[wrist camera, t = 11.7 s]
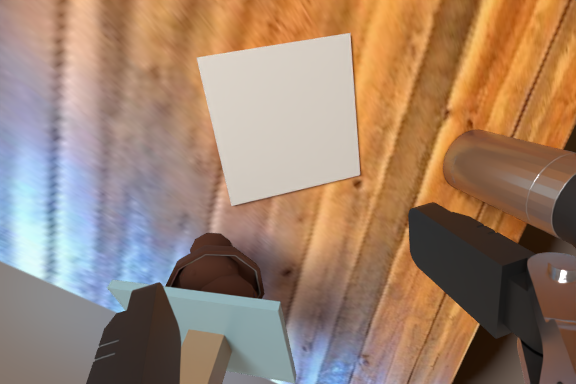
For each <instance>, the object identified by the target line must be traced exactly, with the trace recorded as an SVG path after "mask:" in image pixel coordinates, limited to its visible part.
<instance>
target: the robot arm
mask: <svg viewBox="0 0 576 384" xmlns="http://www.w3.org/2000/svg"><path fill="white" fill-rule="evenodd" d="M443 172H444V176H445V179H446V180H447V182H448V183H449V184H450V185H451V186H453V187H455V188H457V189H459V190H461V191H463V192H465V193H467V194H469V195H471V196H473V197H475V198H477V199H479V200H481V201H483V202H485V203H487V204H489V205H491V206H493V207H495V208H497V209H500V210H502V211H504V212H506V213H508V214H510V215H512V216H514V217H516V218H518V219H520V220H522V221H524V222H526V223H528V224H531V225H533V226H535V227H537V228H539V229H541V230H543V231H545V232H547V233H549V234H551V235H553V236H556V237H557V238H560V239H562V240H564V241H566V242H568V243H570V244H572V245H573V246H574V247H575V248H576V153H574V152H570V151H566V150H561V149H557V148H553V147H549V146H545V145H541V144H536V143H532V142H528V141H524V140H520V139H516V138H512V137H507V136H504V135H499V134H495V133H491V132H487V131H483V130H472V131H468V132H466V133H464V134H462V135H461V136H459V137H458V138H457V139H456V140H455V141H454V142H453V143H452V145H451V146H450V147H449V149H448V151H447V153H446V155H445V159H444V164H443ZM409 241H410V253H411V256H412V259H413V261H414V262H415V264H416V265H417V267H418V268H419V269H421V270H422V271H423V272H424V273H425V274H426V275H427V276H428V277H429V278H430V279H431V280H433V281H434V282H435V283H436V284H437V285H438V286H439V287H440V288H441V289H442V290H443V291H444V292H446V293H447V294H448V295H449V296H450V297H451V298H452V299H453V300H454V301H455V302H456V303H458V304H459V305H460V306H461V307H462V308H463V309H464V310H465V311H466V312H467V313H468V314H470V315H471V316H472V317H473V318H474V319H475V320H476V321H477V322H478V323H479V324H480V325H482V326H483V327H484V328H485V329H486V330H487V331H488V332H489V333H490V334H491V335H492V336H494V337H495V338H499V337H502V336H504V335H507V334H509V333H512V332H513V333H514V334H515V335H516V336H518V342H517V347H518V352H519V357H520V362H521V367H522V371H523V376H524V381H525V384H576V257H575V256H572V255H568V254H562V253H551V252H548V253H540V254H535V253H533V252H531V251H529V250H528V249H526V248H524V247H522V246H521V245H519V244H517V243H515V242H514V241H512V240H510V239H508V238H507V237H505V236H503V235H501V234H500V233H498V232H497V233H495V231H494V230H492V229H491V228H489V227H487V226H484V225H483V224H482V223H480V222H478V221H476V220H475V219H473V218H471V217H469V216H465V215H462V214H458V213H455V212H450V211H448V210H447V209H445V208H443V207H442V206H440V205H438V204H436V203H434V202H432V203H428V204H425V205H422V206H418V207H415V208H412V209H410V211H409ZM180 364H181V335H180V330H179V326H178V322H177V320H176V317H175V315H174V312H173V310H172V307H171V305H170V302H169V300H168V297H167V295H166V292H165V290H164V288H163V286H162V284H161V283H160V282H159V283H155V284H152V285H148V286H145V287H142V288H138V289H135V290H133V291H132V293H131V296H130V300H129V303H128V307H127V310H126V311H123V312H120V313H116V315H115V316H114V317H113V319H112V320H111V321H110V322H109V324H108V325H107V326H106V328H105V329H104V331H103V335H102V338H101V341H100V344H99V348H98V350H97V353H96V356H95V362H93V365H92V368H91V371H90V374H89V377H88V380H87V383H86V384H180Z"/></svg>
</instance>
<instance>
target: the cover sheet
mask: <svg viewBox="0 0 576 384" xmlns="http://www.w3.org/2000/svg"><path fill="white" fill-rule="evenodd" d="M148 285H149V284H141V283H134V282H126V281H118V280H112V281H111V282H110V284H109V285H108V287H107V288H108V290H109V291H110V292H111V293H112V294H113V296H114V297H115V298H116V299H117V301H118V302H119V303H120V304H121V305H122V307H123V308H124V309H125V310H127V307H128V303H129V300H130V296H131V293H132V291H133V290H135V289H138V288H142V287H145V286H148ZM163 288H164V290H165V292H166V295H167V297H168V300H169V302H170V305H171V307H172V310H173V312H174V315H175V317H176V320H177V322H178V326H179V330H180V335H181V364H180V384H222V382H223V379H224V376H225V373H226V371H230V372H236V373H241V374H247V375H252V376H258V377H264V378H269V379H275V380H280V381H286V382H291V383H295V380H296V371H295V367H294V362H293V357H292V353H291V348H290V344H289V339H288V335H287V330H286V325H285V321H284V316H283V312H282V307H281V302H279V301H271V300H264V299H256V298H248V297H241V296H233V295H225V294H218V293H210V292H203V291H195V290H187V289H180V288H172V287H164V286H163Z"/></svg>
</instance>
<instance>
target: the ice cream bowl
mask: <svg viewBox="0 0 576 384" xmlns="http://www.w3.org/2000/svg"><path fill="white" fill-rule="evenodd" d="M190 252H191V253H190V254H188V255H187V256H185V257H183V258H181V259H180V260H178V261H177V263H176V265H175V267H174V269H173V271H172V274H171V276H170V278H169V280H168V282H167V284H166V286H165V287H172V288H180V289H187V290H195V291H203V292H210V293H218V294H225V295H233V296H241V297H248V298H256V299H262V297H263V295H264V288H263V283H262V278H261V272H260V268H259V267H258V266H257V264H256V263H255V262H253V261H252V260H251V259H249V258H248V257H247V256H245V255H244V254H243V253H241V252H240V251H239V250H237V249H236V248H235V247H232V246H231V245H230V241H229V240H228V239H226V238H225V237H224V236H223V235H221V234H217V233H206V234H204V235H202V236H201V237H199V238H197V239H195V241H194V243H193V245H192V247H191V249H190Z"/></svg>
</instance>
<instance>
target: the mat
mask: <svg viewBox="0 0 576 384" xmlns="http://www.w3.org/2000/svg"><path fill="white" fill-rule="evenodd" d="M197 62H198V66H199V70H200V74H201V78H202V83H203V87H204V91H205V95H206V100H207V104H208V108H209V112H210V117H211V121H212V125H213V129H214V134H215V138H216V142H217V146H218V151H219V155H220V159H221V163H222V167H223V172H224V176H225V180H226V184H227V189H228V193H229V197H230V201H231V205H232V206H234V205H238V204H242V203H246V202H250V201H254V200H259V199H263V198H267V197H271V196H275V195H279V194H284V193H288V192H292V191H296V190H300V189H304V188H309V187H313V186H317V185H321V184H325V183H329V182H334V181H338V180H342V179H346V178H350V177H354V176H359V175H360V165H359V151H358V136H357V122H356V108H355V94H354V80H353V66H352V51H351V37H350V33H347V34H341V35H335V36H328V37H322V38H316V39H310V40H304V41H297V42H291V43H285V44H279V45H272V46H266V47H260V48H254V49H247V50H241V51H235V52H229V53H222V54H216V55H210V56H204V57H197Z"/></svg>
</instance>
